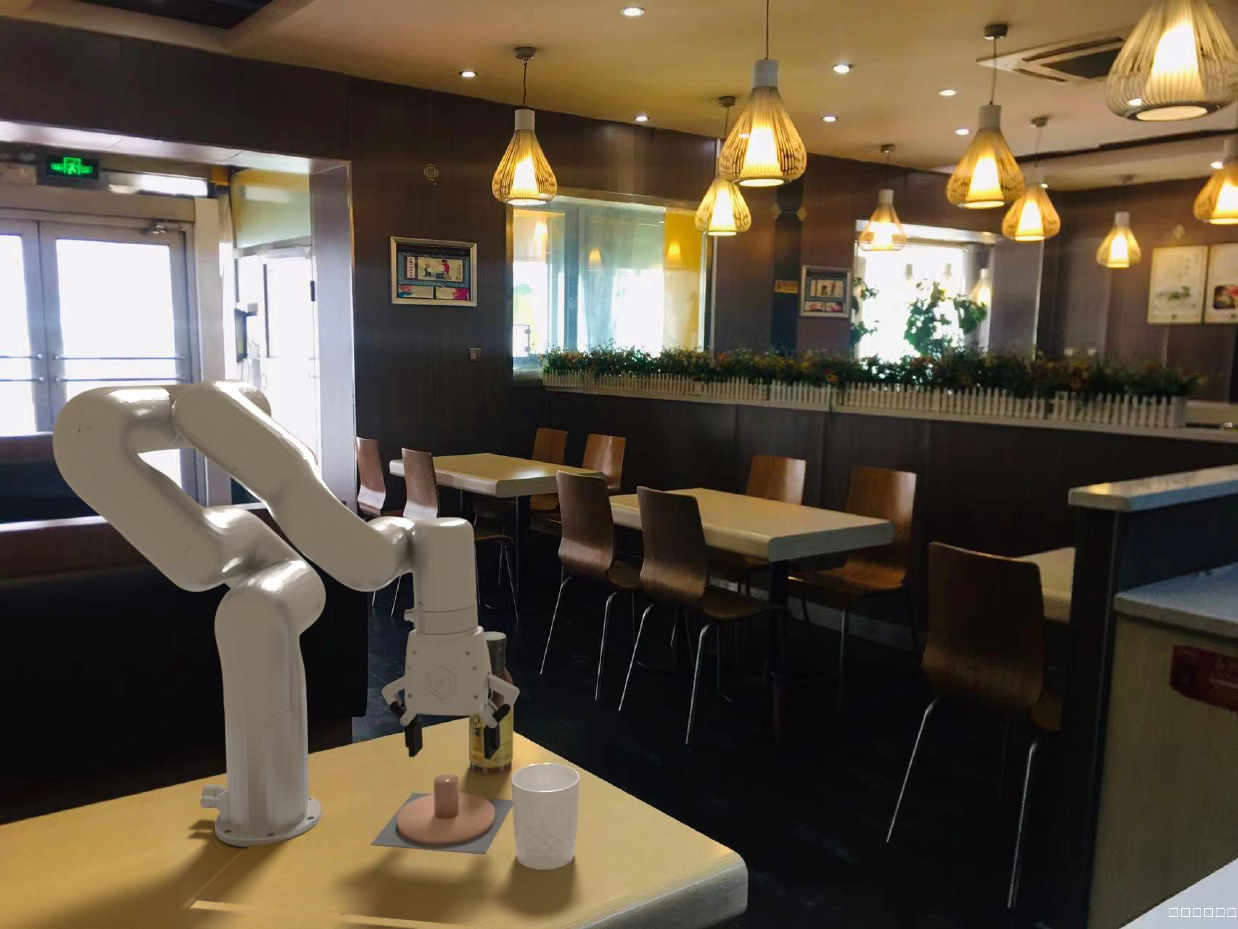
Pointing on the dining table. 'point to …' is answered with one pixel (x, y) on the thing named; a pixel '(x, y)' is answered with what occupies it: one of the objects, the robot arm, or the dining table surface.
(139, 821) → the dining table surface
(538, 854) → the white cup
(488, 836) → the mat
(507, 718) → the sauce bottle
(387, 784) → the dining table surface
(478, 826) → the lid
